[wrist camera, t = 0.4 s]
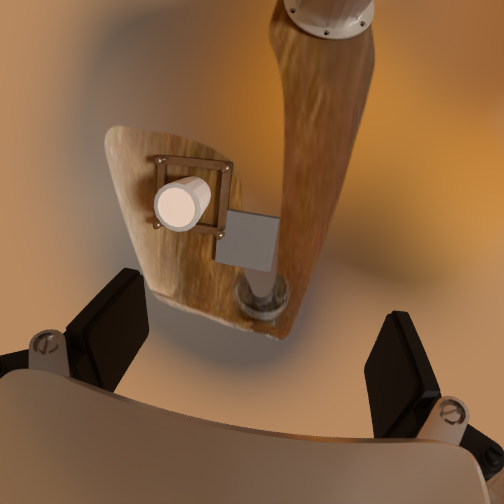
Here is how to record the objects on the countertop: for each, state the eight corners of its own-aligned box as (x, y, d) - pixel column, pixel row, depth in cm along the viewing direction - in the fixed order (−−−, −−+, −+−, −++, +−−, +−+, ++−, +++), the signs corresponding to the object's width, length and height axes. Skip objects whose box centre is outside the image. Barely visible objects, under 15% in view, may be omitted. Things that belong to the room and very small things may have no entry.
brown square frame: (160, 154, 43) (153, 157, 40) (233, 162, 42) (229, 164, 40) (159, 223, 48) (152, 228, 46) (225, 234, 47) (222, 240, 45)
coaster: (220, 207, 45) (219, 209, 44) (279, 217, 45) (279, 219, 44) (216, 259, 49) (215, 261, 49) (270, 269, 49) (270, 272, 48)
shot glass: (171, 171, 44) (151, 182, 38) (214, 173, 43) (200, 183, 37) (173, 213, 47) (155, 230, 41) (214, 216, 46) (201, 234, 40)
